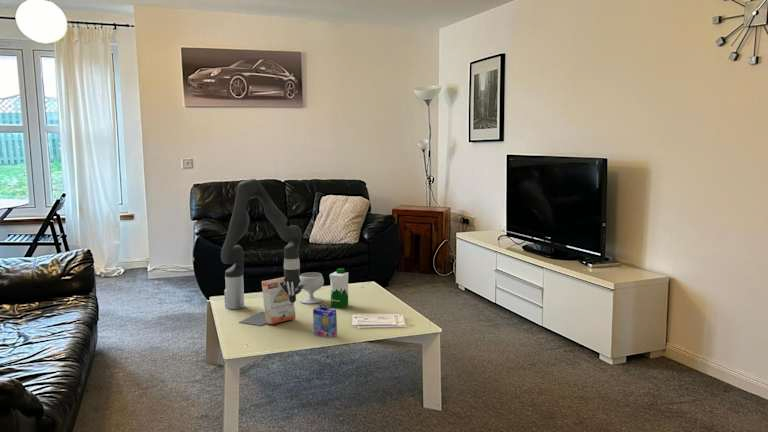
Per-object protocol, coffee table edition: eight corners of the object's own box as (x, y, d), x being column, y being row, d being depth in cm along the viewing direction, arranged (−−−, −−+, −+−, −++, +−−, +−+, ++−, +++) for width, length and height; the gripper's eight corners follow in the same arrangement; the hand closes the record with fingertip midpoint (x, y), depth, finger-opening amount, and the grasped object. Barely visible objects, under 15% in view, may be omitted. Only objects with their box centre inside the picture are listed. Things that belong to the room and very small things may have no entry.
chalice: (329, 300, 318) (328, 273, 316) (313, 306, 306) (312, 278, 304) (309, 296, 325) (309, 270, 323) (293, 302, 313) (292, 275, 311)
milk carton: (350, 305, 308) (349, 268, 305) (343, 309, 299) (342, 272, 297) (335, 303, 311) (335, 267, 308) (328, 307, 303) (327, 271, 300)
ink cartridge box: (312, 334, 261) (312, 304, 259) (320, 331, 266) (319, 301, 264) (330, 338, 256) (329, 307, 254) (337, 335, 261) (337, 304, 259)
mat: (238, 322, 279) (238, 321, 279) (260, 312, 295) (260, 311, 295) (261, 326, 274) (261, 325, 274) (282, 315, 290) (282, 314, 290)
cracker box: (272, 324, 273) (267, 281, 272) (265, 324, 277) (260, 281, 277) (296, 318, 283) (291, 276, 282) (289, 317, 287) (284, 276, 286)
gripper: (275, 267, 273) (276, 302, 275) (299, 270, 268) (300, 306, 270) (284, 264, 280) (285, 298, 282) (307, 266, 274) (308, 301, 277)
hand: (292, 302), depth 276 cm, fingers closed
